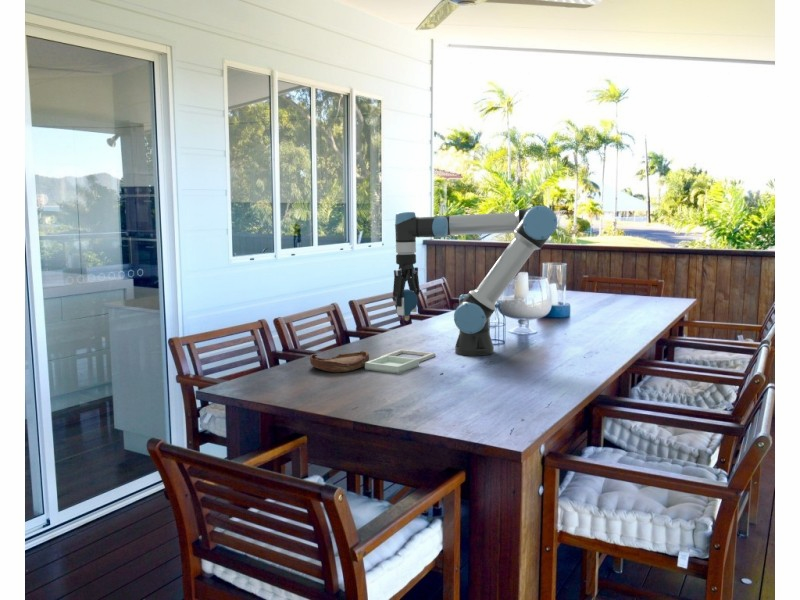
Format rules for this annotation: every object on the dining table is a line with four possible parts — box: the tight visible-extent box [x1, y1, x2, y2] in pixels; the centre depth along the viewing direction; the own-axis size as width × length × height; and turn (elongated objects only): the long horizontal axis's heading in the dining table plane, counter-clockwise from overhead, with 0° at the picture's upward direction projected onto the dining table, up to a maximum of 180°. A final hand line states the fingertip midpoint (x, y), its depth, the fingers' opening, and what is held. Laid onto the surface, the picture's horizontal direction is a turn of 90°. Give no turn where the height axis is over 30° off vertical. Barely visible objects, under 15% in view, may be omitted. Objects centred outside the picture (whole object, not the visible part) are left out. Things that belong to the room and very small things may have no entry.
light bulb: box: [395, 288, 419, 322], centre depth 263 cm, size 8×8×12 cm
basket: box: [309, 350, 370, 373], centre depth 253 cm, size 22×20×5 cm
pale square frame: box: [378, 349, 436, 363], centre depth 266 cm, size 16×16×1 cm
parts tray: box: [364, 354, 420, 375], centre depth 250 cm, size 14×14×2 cm
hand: (407, 313), depth 263 cm, fingers closed on light bulb, 8 cm apart
